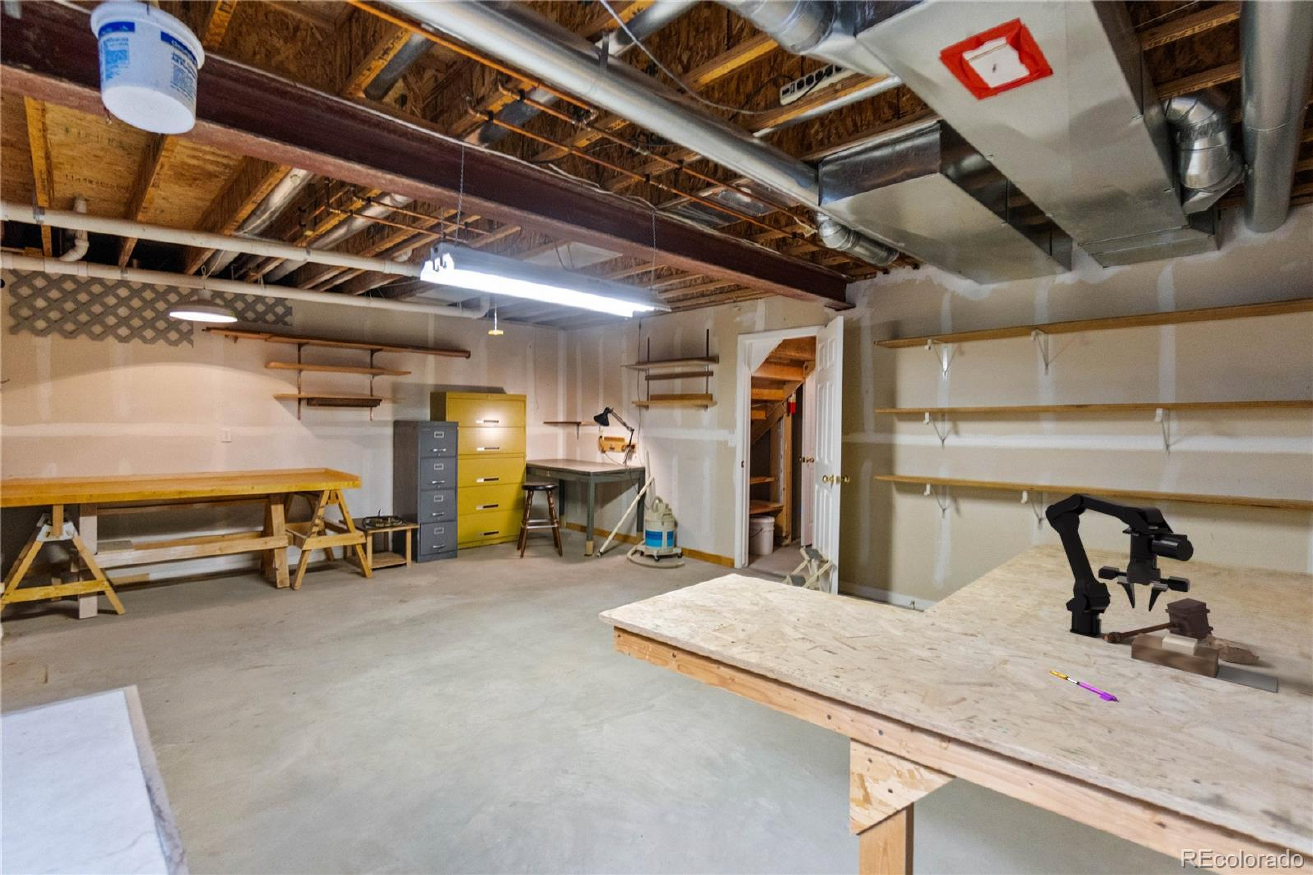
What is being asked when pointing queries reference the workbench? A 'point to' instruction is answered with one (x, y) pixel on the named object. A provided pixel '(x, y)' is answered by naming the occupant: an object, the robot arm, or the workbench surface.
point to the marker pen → (1089, 688)
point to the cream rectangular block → (1180, 644)
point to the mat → (1247, 678)
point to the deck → (1175, 656)
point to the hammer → (1177, 622)
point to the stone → (1232, 650)
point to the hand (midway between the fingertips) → (1141, 609)
